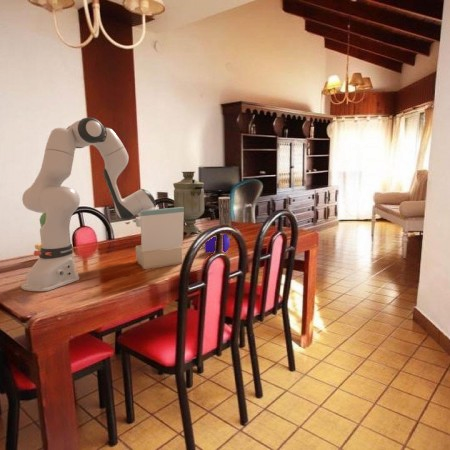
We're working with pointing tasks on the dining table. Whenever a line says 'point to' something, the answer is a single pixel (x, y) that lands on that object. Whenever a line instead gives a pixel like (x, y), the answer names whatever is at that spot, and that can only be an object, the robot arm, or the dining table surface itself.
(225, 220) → the paper tube
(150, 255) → the box
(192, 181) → the samovar
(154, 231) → the lid
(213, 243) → the bracket
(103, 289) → the dining table surface
